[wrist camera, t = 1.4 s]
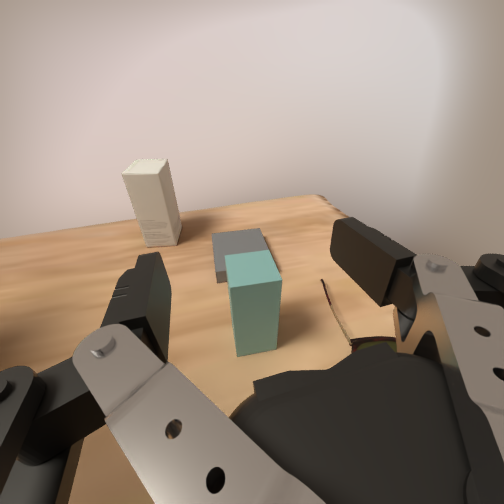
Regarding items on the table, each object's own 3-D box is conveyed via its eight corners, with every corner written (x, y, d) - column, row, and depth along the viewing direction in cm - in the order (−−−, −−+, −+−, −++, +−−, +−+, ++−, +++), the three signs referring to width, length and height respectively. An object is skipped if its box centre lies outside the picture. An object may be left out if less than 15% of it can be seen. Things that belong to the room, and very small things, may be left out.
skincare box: (156, 228, 54) (134, 159, 44) (184, 226, 54) (169, 157, 45) (145, 248, 47) (118, 172, 38) (178, 246, 47) (158, 170, 38)
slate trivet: (217, 283, 38) (215, 271, 37) (213, 243, 48) (211, 233, 46) (274, 274, 40) (274, 263, 38) (259, 238, 49) (259, 228, 48)
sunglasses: (341, 366, 27) (350, 339, 25) (311, 285, 40) (314, 262, 37) (460, 362, 27) (482, 335, 25) (392, 283, 40) (402, 259, 37)
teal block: (237, 357, 28) (229, 287, 21) (232, 323, 32) (224, 255, 25) (276, 349, 29) (282, 279, 22) (266, 317, 33) (269, 249, 26)
